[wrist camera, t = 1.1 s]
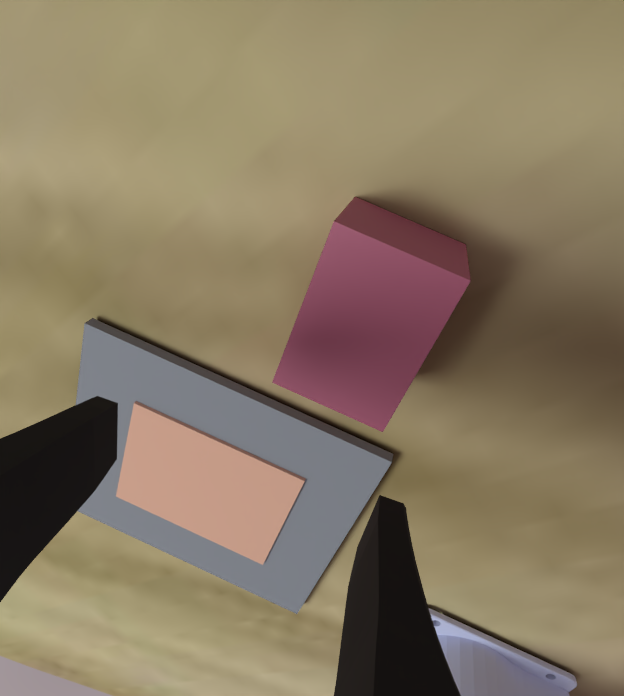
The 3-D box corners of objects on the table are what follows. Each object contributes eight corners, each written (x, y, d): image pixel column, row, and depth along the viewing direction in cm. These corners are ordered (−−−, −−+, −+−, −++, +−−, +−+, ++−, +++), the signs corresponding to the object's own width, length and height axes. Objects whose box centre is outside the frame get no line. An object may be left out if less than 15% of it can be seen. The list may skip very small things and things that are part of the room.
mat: (393, 453, 23) (391, 465, 22) (299, 604, 30) (296, 616, 29) (92, 318, 24) (82, 324, 23) (71, 498, 31) (62, 507, 30)
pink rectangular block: (465, 244, 18) (470, 280, 14) (392, 376, 21) (382, 432, 18) (355, 196, 18) (334, 221, 15) (300, 335, 21) (272, 382, 18)
